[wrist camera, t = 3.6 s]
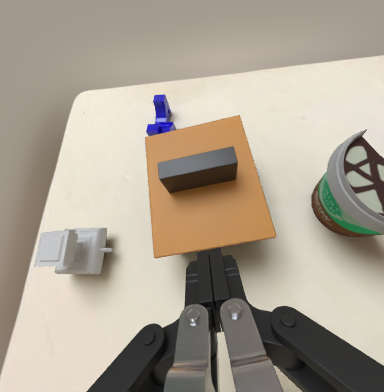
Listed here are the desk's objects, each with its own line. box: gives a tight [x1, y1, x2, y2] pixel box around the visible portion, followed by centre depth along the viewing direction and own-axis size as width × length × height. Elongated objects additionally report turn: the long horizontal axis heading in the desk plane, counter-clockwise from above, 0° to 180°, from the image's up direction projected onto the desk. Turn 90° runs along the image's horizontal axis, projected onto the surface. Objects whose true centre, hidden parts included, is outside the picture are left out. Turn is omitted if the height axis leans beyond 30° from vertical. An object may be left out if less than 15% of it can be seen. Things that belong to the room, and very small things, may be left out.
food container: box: [312, 129, 384, 237], centre depth 24 cm, size 12×6×10 cm, turn 22°
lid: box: [145, 115, 276, 258], centre depth 22 cm, size 16×13×5 cm
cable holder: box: [146, 95, 175, 136], centre depth 36 cm, size 8×4×4 cm, turn 173°
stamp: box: [34, 228, 113, 274], centre depth 28 cm, size 9×7×8 cm
